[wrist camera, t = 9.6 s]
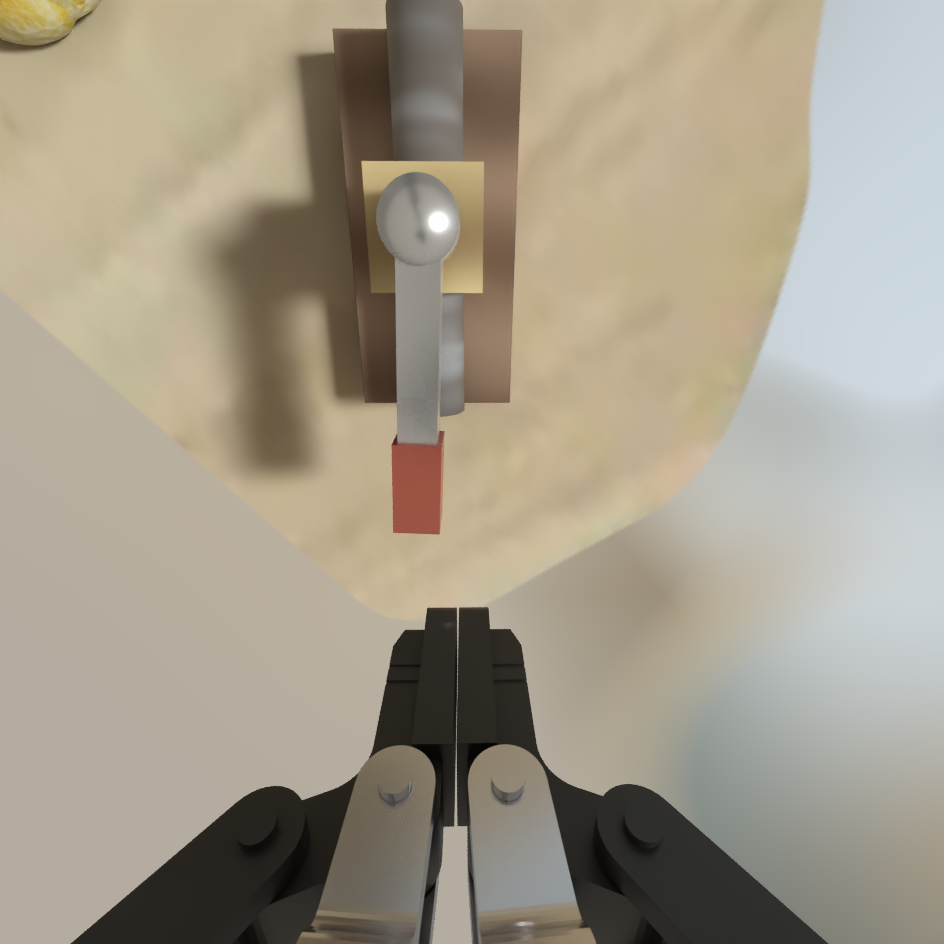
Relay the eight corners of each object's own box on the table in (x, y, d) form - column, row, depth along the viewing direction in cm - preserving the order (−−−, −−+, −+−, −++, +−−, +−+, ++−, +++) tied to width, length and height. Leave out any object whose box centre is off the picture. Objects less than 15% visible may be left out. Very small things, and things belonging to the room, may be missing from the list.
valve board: (344, 51, 21) (289, -54, 15) (517, 52, 21) (539, -52, 15) (372, 394, 27) (341, 428, 21) (506, 394, 27) (518, 428, 21)
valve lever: (386, 183, 17) (374, 168, 15) (461, 187, 17) (460, 173, 15) (392, 508, 22) (384, 532, 20) (450, 510, 22) (448, 534, 20)
